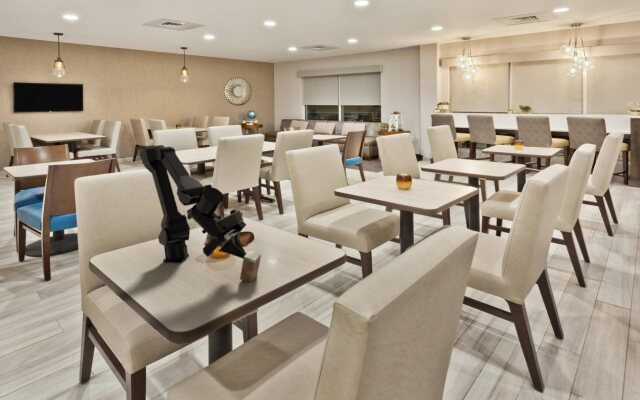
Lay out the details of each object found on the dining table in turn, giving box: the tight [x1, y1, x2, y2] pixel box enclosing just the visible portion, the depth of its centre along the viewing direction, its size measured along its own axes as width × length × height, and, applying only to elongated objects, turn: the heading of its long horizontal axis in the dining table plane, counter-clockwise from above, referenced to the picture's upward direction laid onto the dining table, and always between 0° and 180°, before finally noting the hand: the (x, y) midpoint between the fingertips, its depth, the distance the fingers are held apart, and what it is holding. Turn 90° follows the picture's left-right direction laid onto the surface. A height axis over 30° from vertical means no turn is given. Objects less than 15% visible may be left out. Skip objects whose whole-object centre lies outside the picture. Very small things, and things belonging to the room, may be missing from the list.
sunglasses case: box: [203, 230, 255, 247], centre depth 158 cm, size 18×7×7 cm, turn 81°
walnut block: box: [239, 250, 262, 283], centre depth 124 cm, size 4×5×8 cm
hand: (245, 257), depth 124 cm, fingers closed
